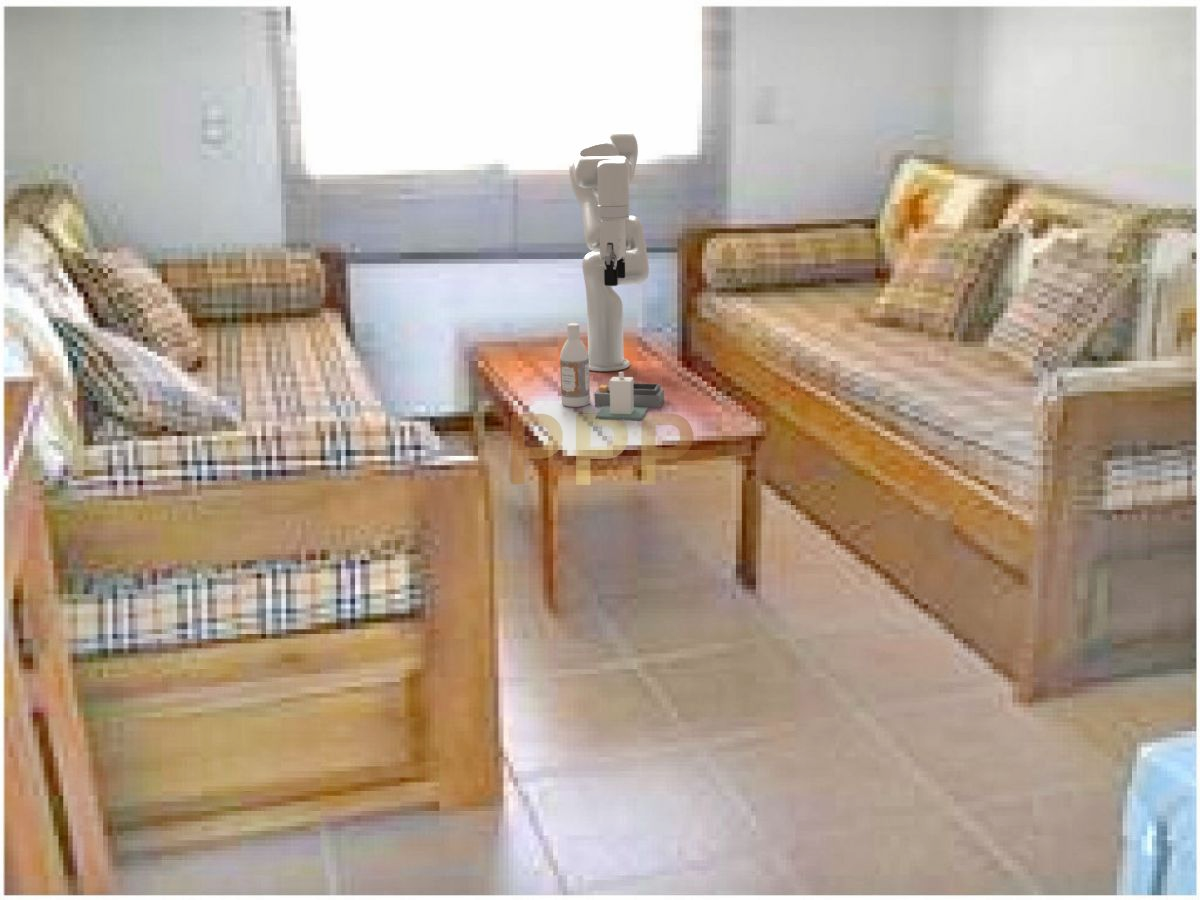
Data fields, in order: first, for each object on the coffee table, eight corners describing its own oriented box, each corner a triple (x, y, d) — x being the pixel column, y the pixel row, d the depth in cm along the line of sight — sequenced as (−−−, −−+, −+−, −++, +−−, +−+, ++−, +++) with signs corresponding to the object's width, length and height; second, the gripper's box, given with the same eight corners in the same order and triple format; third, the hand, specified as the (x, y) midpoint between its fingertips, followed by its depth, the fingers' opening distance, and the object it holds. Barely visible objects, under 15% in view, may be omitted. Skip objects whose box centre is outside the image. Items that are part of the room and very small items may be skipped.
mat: (603, 408, 335) (603, 405, 335) (647, 409, 333) (647, 407, 333) (595, 418, 327) (595, 416, 327) (641, 420, 325) (641, 417, 324)
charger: (613, 408, 332) (612, 370, 329) (633, 409, 331) (633, 370, 328) (610, 413, 328) (609, 374, 326) (630, 414, 327) (630, 375, 325)
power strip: (600, 397, 344) (600, 381, 343) (664, 399, 341) (663, 383, 340) (594, 405, 338) (594, 389, 336) (659, 407, 334) (659, 390, 333)
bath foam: (556, 405, 339) (553, 325, 333) (572, 398, 344) (569, 320, 338) (579, 409, 335) (576, 328, 329) (595, 402, 341) (593, 322, 334)
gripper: (605, 206, 344) (607, 274, 350) (590, 217, 328) (592, 288, 334) (635, 207, 343) (636, 275, 348) (621, 217, 327) (623, 289, 332)
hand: (615, 281), depth 341 cm, fingers open, 9 cm apart
